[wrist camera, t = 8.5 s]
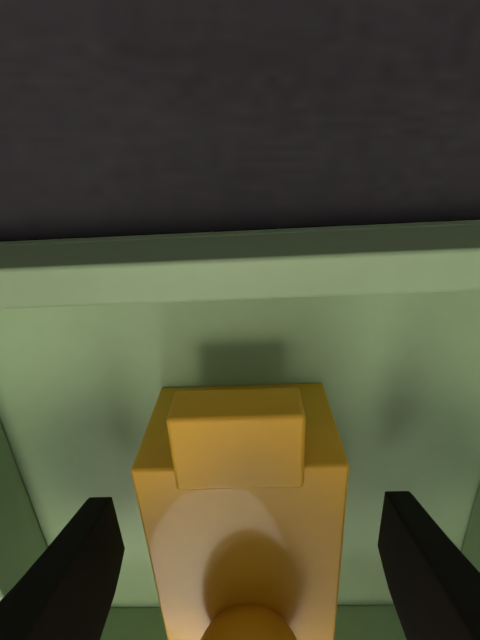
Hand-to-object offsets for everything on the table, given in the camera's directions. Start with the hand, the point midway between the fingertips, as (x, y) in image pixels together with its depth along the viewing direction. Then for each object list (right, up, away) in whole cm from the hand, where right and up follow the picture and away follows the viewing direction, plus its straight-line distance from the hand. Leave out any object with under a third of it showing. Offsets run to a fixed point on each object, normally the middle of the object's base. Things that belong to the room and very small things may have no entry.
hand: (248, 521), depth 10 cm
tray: (0, +1, +2) cm, 2 cm away
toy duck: (0, +1, +1) cm, 2 cm away
